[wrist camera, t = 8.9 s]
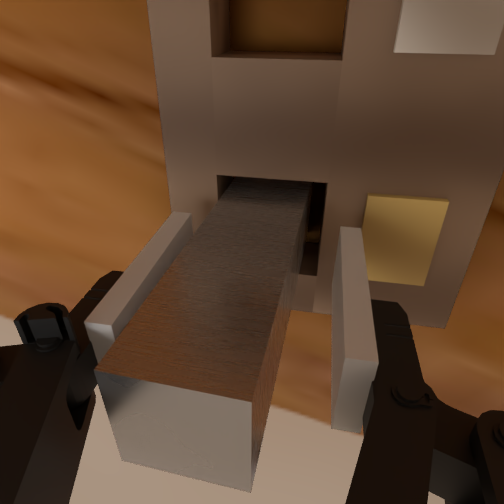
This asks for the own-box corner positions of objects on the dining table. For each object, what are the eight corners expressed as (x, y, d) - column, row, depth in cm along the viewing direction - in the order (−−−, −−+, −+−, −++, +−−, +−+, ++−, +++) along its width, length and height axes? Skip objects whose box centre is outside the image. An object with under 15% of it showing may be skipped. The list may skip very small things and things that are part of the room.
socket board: (161, -179, 13) (115, -231, 10) (591, -208, 11) (678, -283, 8) (198, 264, 22) (179, 299, 20) (431, 290, 21) (446, 333, 18)
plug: (244, 165, 19) (93, 369, 8) (313, 171, 18) (251, 402, 7) (244, 226, 21) (121, 460, 10) (307, 234, 20) (251, 492, 9)
